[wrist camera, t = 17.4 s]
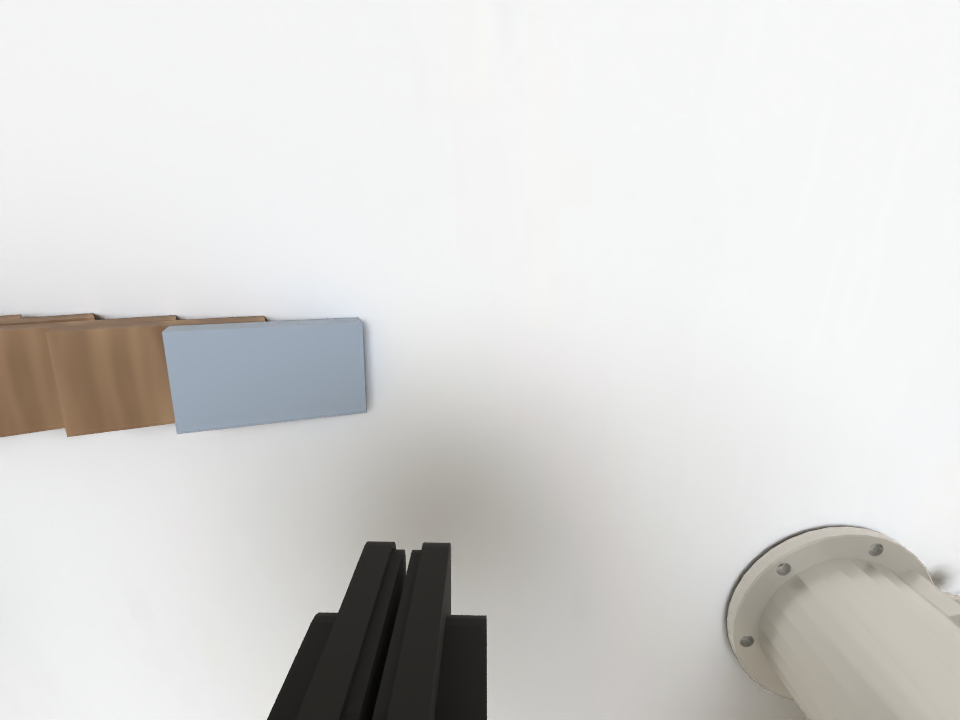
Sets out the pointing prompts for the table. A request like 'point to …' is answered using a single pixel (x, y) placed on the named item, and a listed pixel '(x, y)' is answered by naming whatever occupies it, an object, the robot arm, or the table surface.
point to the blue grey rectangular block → (264, 372)
